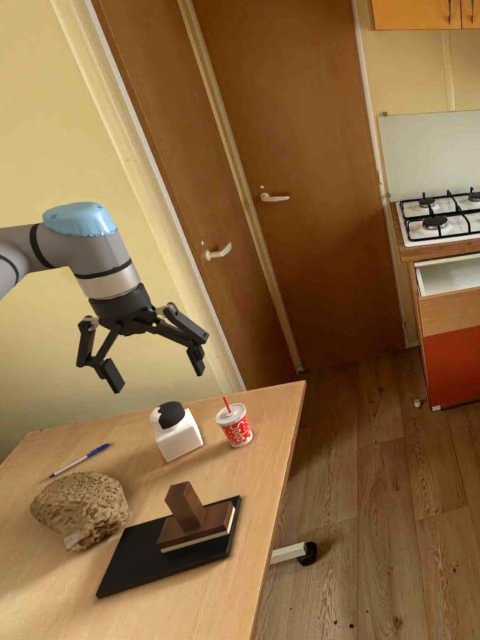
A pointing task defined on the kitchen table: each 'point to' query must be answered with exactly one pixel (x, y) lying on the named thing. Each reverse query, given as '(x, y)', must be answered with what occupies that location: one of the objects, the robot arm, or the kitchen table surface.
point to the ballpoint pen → (81, 459)
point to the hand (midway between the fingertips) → (161, 380)
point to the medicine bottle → (174, 430)
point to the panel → (159, 555)
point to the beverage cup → (234, 424)
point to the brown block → (192, 519)
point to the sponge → (81, 508)
